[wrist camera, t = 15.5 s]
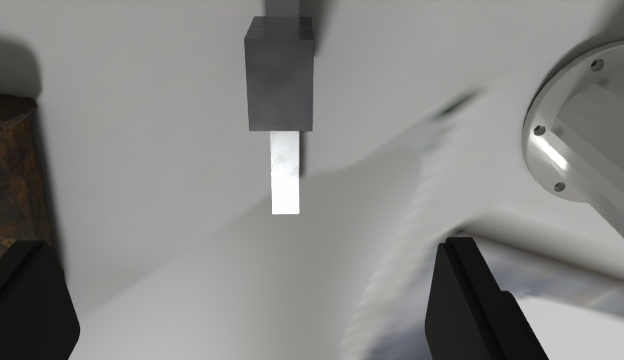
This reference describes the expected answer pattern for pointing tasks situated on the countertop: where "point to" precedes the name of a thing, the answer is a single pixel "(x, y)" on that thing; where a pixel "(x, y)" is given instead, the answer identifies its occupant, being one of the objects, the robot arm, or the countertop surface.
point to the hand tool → (20, 177)
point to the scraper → (281, 91)
